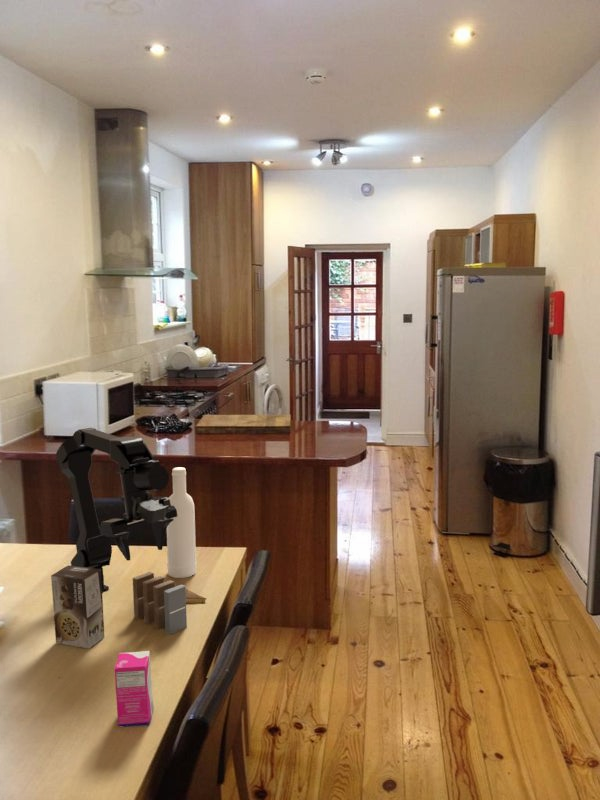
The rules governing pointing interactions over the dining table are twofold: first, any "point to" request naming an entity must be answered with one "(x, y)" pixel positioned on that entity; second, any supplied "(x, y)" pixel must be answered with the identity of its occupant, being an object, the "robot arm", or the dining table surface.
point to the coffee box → (78, 606)
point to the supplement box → (134, 688)
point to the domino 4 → (175, 609)
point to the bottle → (181, 530)
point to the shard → (193, 597)
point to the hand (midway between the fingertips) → (144, 555)
